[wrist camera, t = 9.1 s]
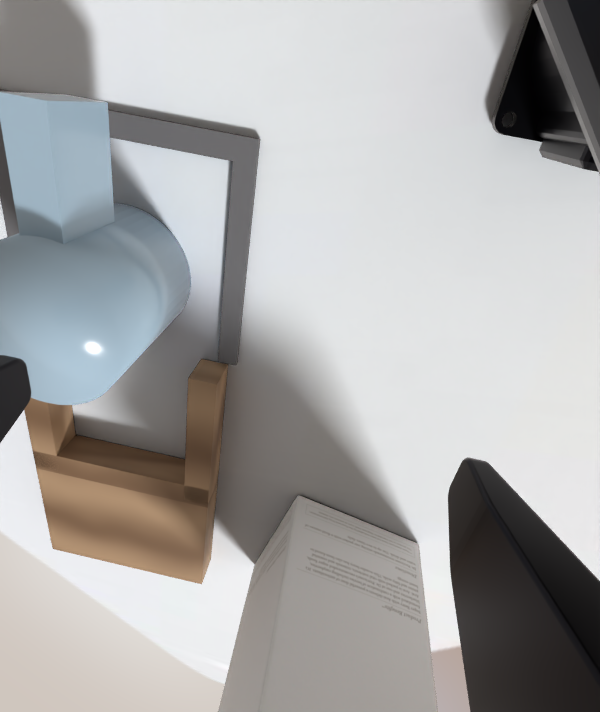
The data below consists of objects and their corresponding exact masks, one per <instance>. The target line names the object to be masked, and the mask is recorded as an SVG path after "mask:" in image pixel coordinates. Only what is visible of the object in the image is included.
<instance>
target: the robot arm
mask: <svg viewBox="0 0 600 712" xmlns="http://www.w3.org/2000/svg"><path fill="white" fill-rule="evenodd" d="M507 112H511V113H512V114H513V116H514V118H513V122H512V123H511V125H509V126H508V127H504V126H503V124H502V118H503V116H504V114H506V113H507ZM492 125H493V129H494V130H495V131H496V132H497V133H500V134H503V135H508V136H513V137H519V138H524V139H529V140H535V141H540V142H542V144H541V147H540V149H539V151H540V153H541V155H542V157H544V158H548V159H551V160H555V161H558V162H562V163H565V164H569V165H572V166H576V167H579V168H582V169H587V170H592V171H597V172H599V174H600V0H532V3H531V6H530V9H529V12H528V15H527V18H526V21H525V24H524V27H523V30H522V33H521V36H520V38H519V41H518V44H517V47H516V50H515V53H514V56H513V59H512V62H511V65H510V68H509V71H508V74H507V77H506V80H505V83H504V86H503V89H502V92H501V95H500V97H499V100H498V103H497V106H496V109H495V112H494V115H493V119H492ZM30 398H31V387H30V381H29V376H28V370H27V366H26V363H25V362H24V360H22V359H20V358H16V357H11V356H7V355H0V443H1V441H2V440H3V438H4V437H5V435H6V434H7V433H8V431H9V430H10V428H11V427H12V426H13V424H14V423H15V421H16V420H17V419H18V417H19V416H20V414H21V413H22V412H23V410H24V409H25V407H26V406H27V405H28V403H29V401H30ZM448 513H449V546H450V570H451V580H452V587H453V594H454V601H455V608H456V615H457V622H458V629H459V636H460V643H461V649H462V656H463V663H464V670H465V677H466V684H467V691H468V698H469V705H470V711H471V712H600V581H599V580H598V579H597V578H596V577H595V576H594V575H593V573H592V572H591V571H590V570H589V569H588V568H587V567H586V566H585V565H584V564H583V563H582V562H581V561H580V560H579V559H578V558H577V556H576V555H575V554H574V553H573V552H572V551H571V550H570V549H569V548H568V547H567V546H566V545H565V544H564V543H563V542H562V541H561V540H560V538H559V537H558V536H557V535H556V534H555V533H554V532H553V531H552V530H551V529H550V528H549V527H548V526H547V525H546V524H545V523H544V521H543V520H542V519H541V518H540V517H539V516H538V515H537V514H536V513H535V512H534V511H533V510H532V509H531V508H530V507H529V506H528V505H527V503H526V502H525V501H524V500H523V499H522V498H521V497H520V496H519V495H518V494H517V493H516V492H515V491H514V490H513V489H512V488H511V486H510V485H509V484H508V483H507V482H506V481H505V480H504V479H503V478H502V477H501V476H500V475H499V474H498V473H497V472H496V471H495V470H494V468H493V467H492V466H491V465H490V464H489V463H487V462H485V461H482V460H477V459H473V458H465V459H464V460H463V461H462V463H461V465H460V467H459V469H458V471H457V473H456V475H455V477H454V479H453V481H452V483H451V486H450V489H449V493H448Z"/></svg>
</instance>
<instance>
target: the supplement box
mask: <svg viewBox="0 0 600 712" xmlns="http://www.w3.org/2000/svg"><path fill="white" fill-rule="evenodd" d="M218 712H438V709H437V700H436V691H435V683H434V674H433V667H432V657H431V648H430V640H429V631H428V622H427V613H426V604H425V595H424V587H423V579H422V570H421V561H420V550H419V545H418V544H417V543H415V542H413V541H411V540H408V539H406V538H403V537H401V536H398V535H396V534H393V533H391V532H388V531H386V530H383V529H381V528H378V527H376V526H374V525H371V524H369V523H366V522H364V521H361V520H359V519H356V518H354V517H351V516H349V515H347V514H344V513H342V512H339V511H337V510H334V509H332V508H329V507H327V506H324V505H322V504H319V503H317V502H314V501H312V500H310V499H307V498H305V497H302V496H297V497H296V499H295V500H294V502H293V504H292V505H291V507H290V508H289V510H288V512H287V513H286V515H285V516H284V518H283V520H282V521H281V523H280V525H279V526H278V528H277V529H276V531H275V533H274V534H273V536H272V537H271V539H270V541H269V542H268V544H267V545H266V547H265V549H264V550H263V552H262V553H261V555H260V557H259V558H258V560H257V562H256V564H255V566H254V569H253V573H252V577H251V581H250V585H249V589H248V593H247V597H246V601H245V605H244V609H243V613H242V617H241V621H240V625H239V629H238V634H237V638H236V642H235V646H234V650H233V654H232V658H231V662H230V666H229V670H228V674H227V678H226V682H225V686H224V691H223V695H222V699H221V703H220V707H219V711H218Z"/></svg>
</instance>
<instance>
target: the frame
mask: <svg viewBox="0 0 600 712" xmlns="http://www.w3.org/2000/svg"><path fill="white" fill-rule="evenodd" d="M0 91H3V92H12V91H7V90H2V89H0ZM108 116H109V133H110V137H111V138H116V139H121V140H126V141H132V142H137V143H142V144H147V145H152V146H157V147H162V148H168V149H173V150H178V151H183V152H188V153H193V154H198V155H204V156H209V157H214V158H219V159H224V160H229V161H233V165H232V179H231V192H230V205H229V219H228V232H227V245H226V259H225V272H224V285H223V299H222V312H221V326H220V339H219V352H218V362H223V363H227V364H232V365H236V364H237V362H238V352H239V342H240V332H241V323H242V313H243V303H244V293H245V283H246V273H247V264H248V254H249V244H250V234H251V224H252V215H253V205H254V195H255V185H256V175H257V166H258V156H259V146H260V139H257V138H252V137H247V136H242V135H237V134H231V133H226V132H221V131H216V130H211V129H205V128H200V127H195V126H190V125H184V124H179V123H174V122H169V121H164V120H158V119H153V118H148V117H143V116H137V115H132V114H127V113H122V112H117V111H111V110H108ZM0 198H1V203H2V209H3V214H4V220H5V225H6V231H7V236H8V237H10V236H13V235H15V234H18V233H19V228H18V222H17V216H16V211H15V205H14V199H13V193H12V187H11V181H10V175H9V169H8V163H7V158H6V152H5V146H4V140H3V134H2V128H1V122H0Z"/></svg>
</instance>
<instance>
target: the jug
mask: <svg viewBox="0 0 600 712" xmlns="http://www.w3.org/2000/svg"><path fill="white" fill-rule="evenodd" d="M0 122H1V128H2V134H3V140H4V146H5V152H6V158H7V163H8V169H9V175H10V181H11V187H12V193H13V199H14V205H15V211H16V216H17V222H18V228H19V233H18V234H15V235H13V236H10V237H7V238H4V239H1V240H0V355H7V356H11V357H16V358H20V359H22V360H24V362H25V363H26V366H27V370H28V376H29V381H30V387H31V398H34V399H36V400H39V401H43V402H47V403H52V404H57V405H77V404H82V403H87V402H89V401H92V400H95V399H96V398H98V397H100V396H102V395H103V394H104V393H105V392H107V391H108V390H109V389H110V388H111V386H112V385H113V384H114V383H115V382H116V381H117V380H118V379H119V378H120V377H121V376H122V375H123V374H124V373H125V372H126V371H127V369H128V368H129V367H130V366H131V365H132V364H133V363H134V362H135V361H136V360H137V359H138V358H139V357H140V356H141V355H142V353H143V352H144V351H145V350H146V349H147V348H148V347H149V346H150V345H151V344H152V343H153V342H154V341H155V340H156V339H157V337H158V336H159V335H160V334H161V333H162V332H163V331H164V330H165V329H166V328H167V327H168V326H169V325H170V324H171V323H172V321H173V320H174V319H175V318H176V317H177V316H178V315H179V314H180V313H181V311H182V310H183V308H184V307H185V305H186V303H187V300H188V298H189V294H190V287H191V275H190V269H189V265H188V261H187V258H186V256H185V253H184V251H183V249H182V247H181V246H180V244H179V242H178V241H177V239H176V238H175V237H174V235H173V234H172V233H171V232H170V231H169V229H168V228H167V227H166V226H165V225H163V224H162V223H161V222H160V221H159V220H158V219H156V218H155V217H153V216H152V215H150V214H149V213H147V212H145V211H143V210H141V209H138V208H136V207H133V206H129V205H126V204H118V203H114V202H113V184H112V167H111V150H110V133H109V116H108V102H104V101H98V100H93V99H88V98H82V97H77V96H72V95H66V94H46V93H24V92H3V91H0Z"/></svg>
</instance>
